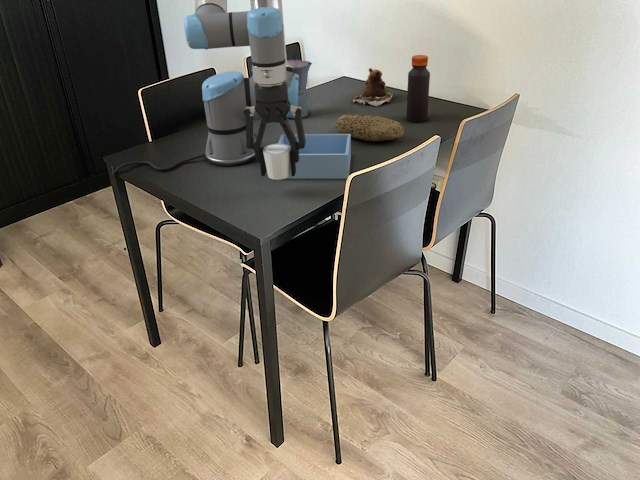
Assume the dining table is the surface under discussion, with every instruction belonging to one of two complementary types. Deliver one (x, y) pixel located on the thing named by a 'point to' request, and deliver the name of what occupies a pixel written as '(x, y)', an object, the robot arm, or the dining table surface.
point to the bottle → (418, 89)
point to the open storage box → (322, 156)
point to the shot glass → (277, 161)
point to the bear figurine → (374, 90)
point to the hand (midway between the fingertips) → (278, 173)
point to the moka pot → (301, 82)
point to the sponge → (369, 127)
